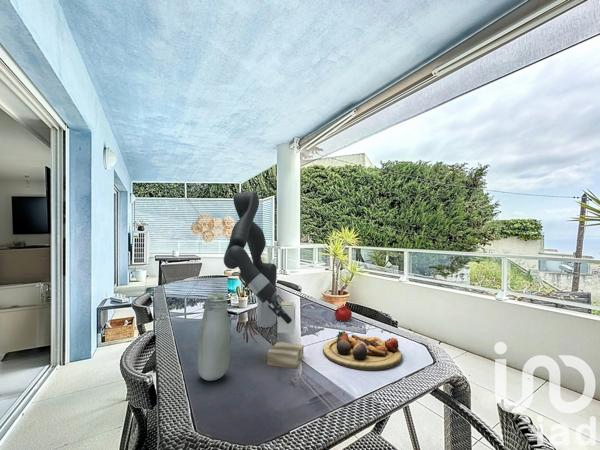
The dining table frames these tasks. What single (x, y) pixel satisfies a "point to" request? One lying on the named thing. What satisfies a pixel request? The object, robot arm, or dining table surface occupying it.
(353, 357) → the wooden plate with food
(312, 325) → the dining table surface
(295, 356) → the pale gold metal block
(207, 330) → the glass bottle
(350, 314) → the pomegranate
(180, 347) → the dining table surface
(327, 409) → the dining table surface
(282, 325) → the white square container
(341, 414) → the dining table surface
